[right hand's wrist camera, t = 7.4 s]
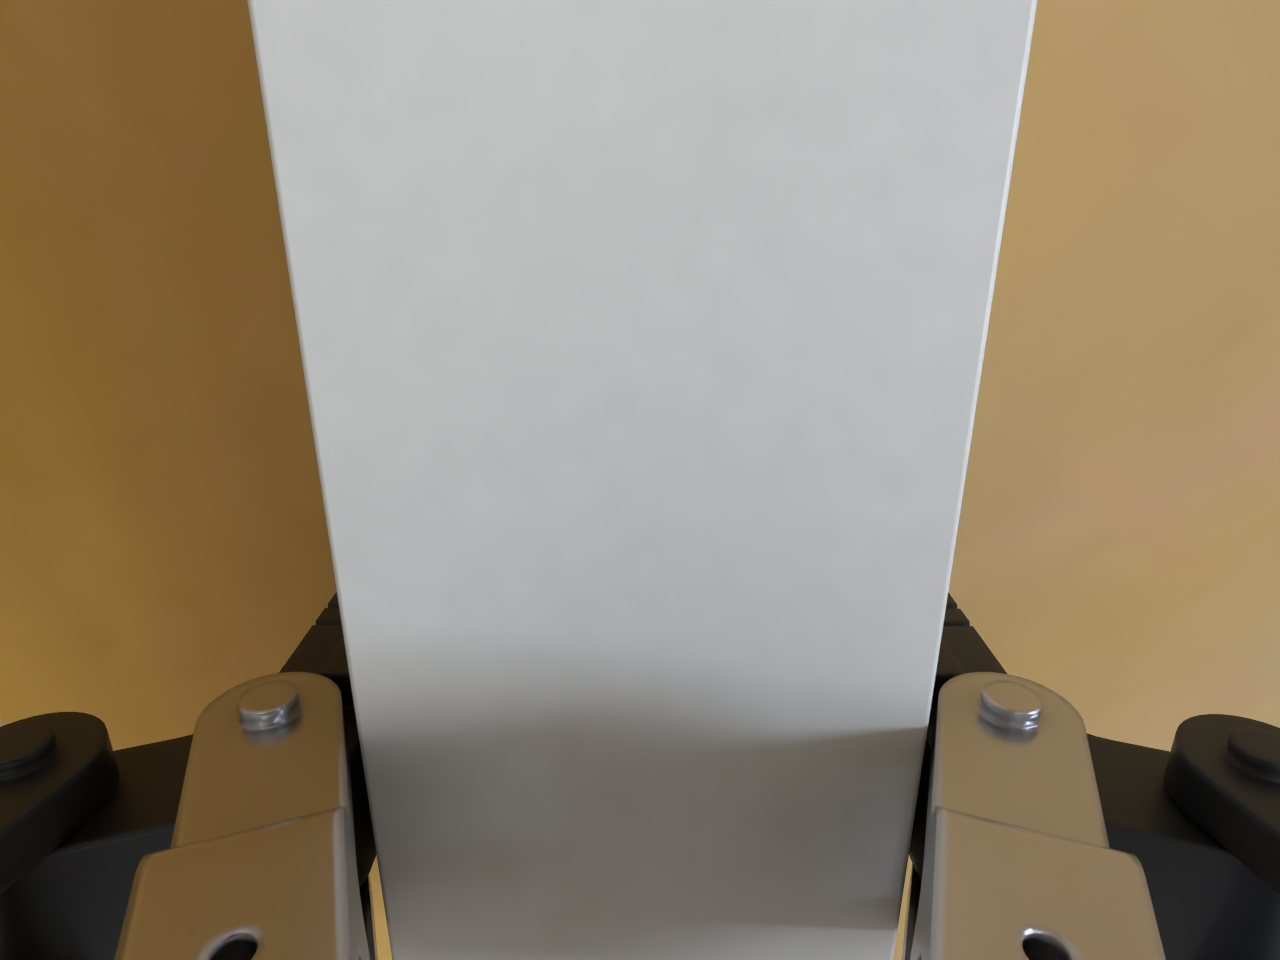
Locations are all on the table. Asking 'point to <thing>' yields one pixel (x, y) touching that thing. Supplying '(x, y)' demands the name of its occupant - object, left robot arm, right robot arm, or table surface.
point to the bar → (642, 444)
